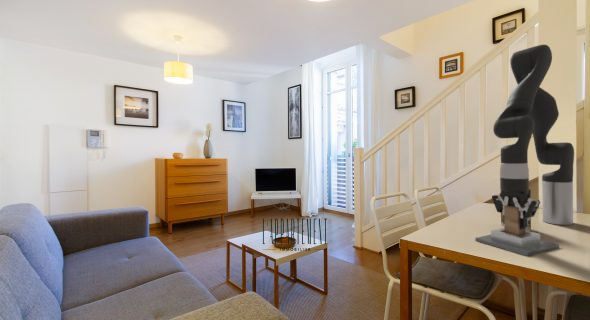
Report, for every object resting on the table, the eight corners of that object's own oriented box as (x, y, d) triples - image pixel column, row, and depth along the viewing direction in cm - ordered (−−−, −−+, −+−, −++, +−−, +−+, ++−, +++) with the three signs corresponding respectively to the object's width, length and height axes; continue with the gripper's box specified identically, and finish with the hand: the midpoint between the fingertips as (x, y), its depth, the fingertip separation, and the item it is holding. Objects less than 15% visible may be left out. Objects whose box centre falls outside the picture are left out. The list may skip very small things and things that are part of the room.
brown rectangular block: (512, 233, 95) (511, 204, 95) (525, 236, 91) (525, 206, 91) (504, 234, 93) (504, 205, 93) (517, 238, 90) (517, 207, 89)
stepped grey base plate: (505, 234, 103) (505, 223, 103) (558, 247, 88) (558, 235, 88) (475, 240, 97) (475, 229, 97) (527, 256, 82) (527, 243, 82)
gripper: (546, 177, 86) (547, 231, 87) (499, 174, 100) (500, 221, 100) (531, 179, 84) (532, 234, 84) (485, 175, 97) (486, 224, 98)
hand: (514, 227), depth 92 cm, fingers closed on brown rectangular block, 3 cm apart
